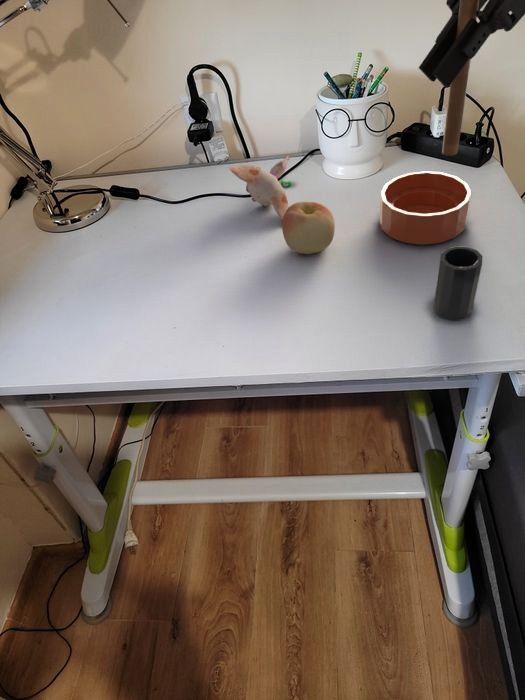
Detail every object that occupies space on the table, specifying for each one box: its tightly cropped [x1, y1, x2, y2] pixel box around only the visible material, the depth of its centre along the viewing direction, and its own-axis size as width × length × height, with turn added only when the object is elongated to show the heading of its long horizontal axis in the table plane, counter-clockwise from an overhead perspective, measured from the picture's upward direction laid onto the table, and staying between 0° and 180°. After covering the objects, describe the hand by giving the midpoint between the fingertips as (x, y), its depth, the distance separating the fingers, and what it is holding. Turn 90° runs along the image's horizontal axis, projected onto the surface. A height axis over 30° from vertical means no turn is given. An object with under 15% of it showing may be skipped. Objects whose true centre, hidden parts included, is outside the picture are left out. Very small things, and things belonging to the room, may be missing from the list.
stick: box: [441, 0, 479, 157], centre depth 62 cm, size 2×2×20 cm
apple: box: [281, 201, 336, 255], centre depth 86 cm, size 9×9×8 cm
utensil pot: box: [433, 245, 483, 322], centre depth 70 cm, size 5×5×9 cm
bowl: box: [379, 170, 473, 246], centre depth 87 cm, size 14×14×6 cm
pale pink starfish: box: [228, 155, 293, 221], centre depth 99 cm, size 15×8×15 cm
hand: (433, 77), depth 61 cm, fingers closed on stick, 2 cm apart
